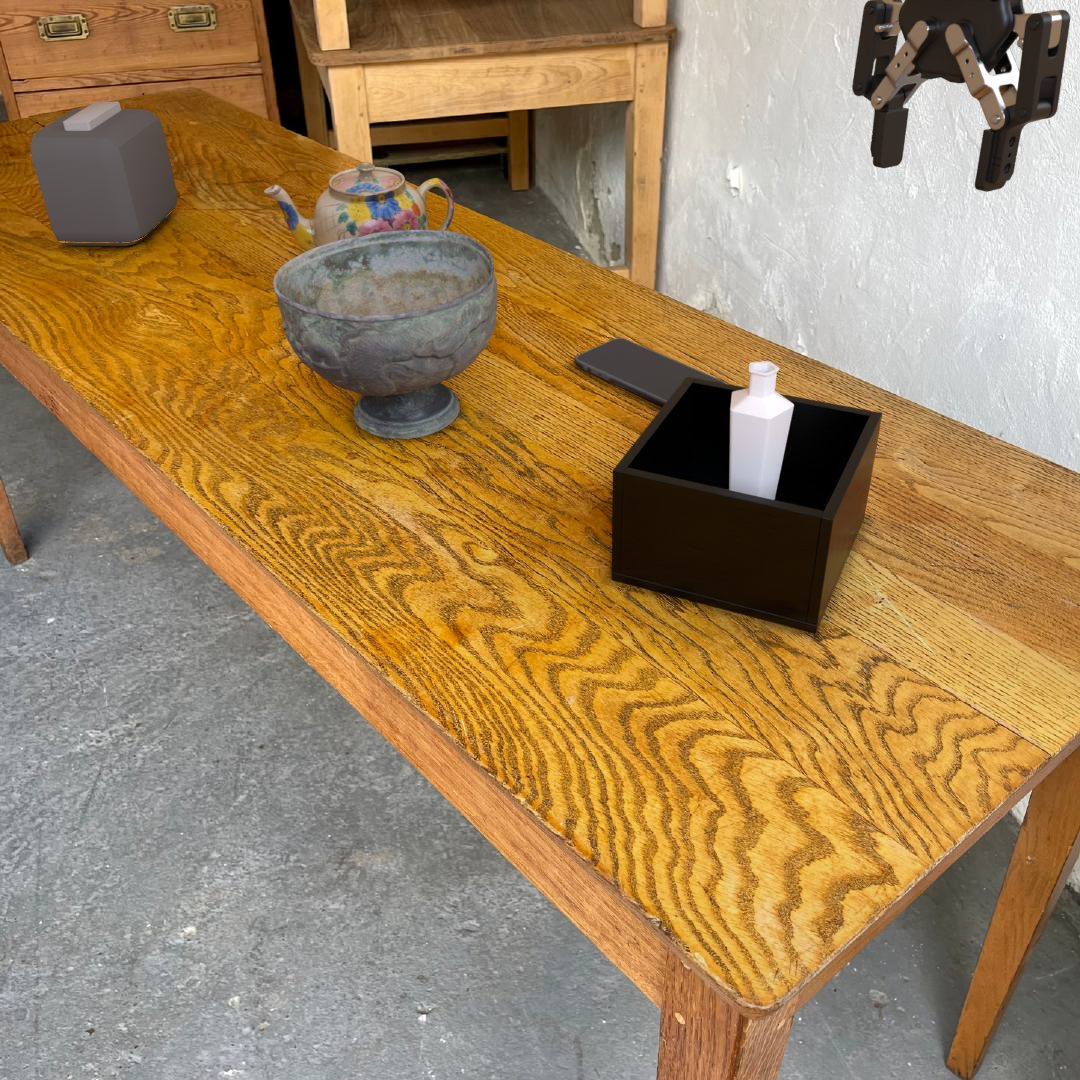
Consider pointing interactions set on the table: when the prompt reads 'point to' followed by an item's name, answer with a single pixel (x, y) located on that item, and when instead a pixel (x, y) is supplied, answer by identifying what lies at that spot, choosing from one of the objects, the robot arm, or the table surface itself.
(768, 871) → the table surface
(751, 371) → the perfume bottle
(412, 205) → the teapot
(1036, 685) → the table surface
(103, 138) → the alarm clock
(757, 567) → the open box
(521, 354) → the table surface
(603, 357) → the smartphone
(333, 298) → the bowl
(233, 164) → the table surface
